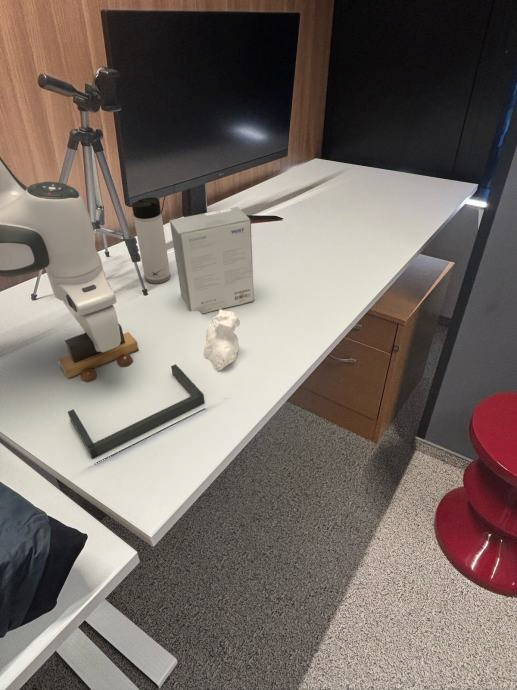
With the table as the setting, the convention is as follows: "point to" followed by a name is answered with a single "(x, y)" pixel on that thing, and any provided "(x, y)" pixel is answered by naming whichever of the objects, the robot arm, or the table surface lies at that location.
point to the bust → (222, 339)
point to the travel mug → (151, 240)
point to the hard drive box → (214, 259)
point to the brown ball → (124, 360)
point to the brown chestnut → (89, 375)
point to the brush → (93, 353)
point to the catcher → (145, 424)
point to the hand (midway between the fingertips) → (96, 344)
